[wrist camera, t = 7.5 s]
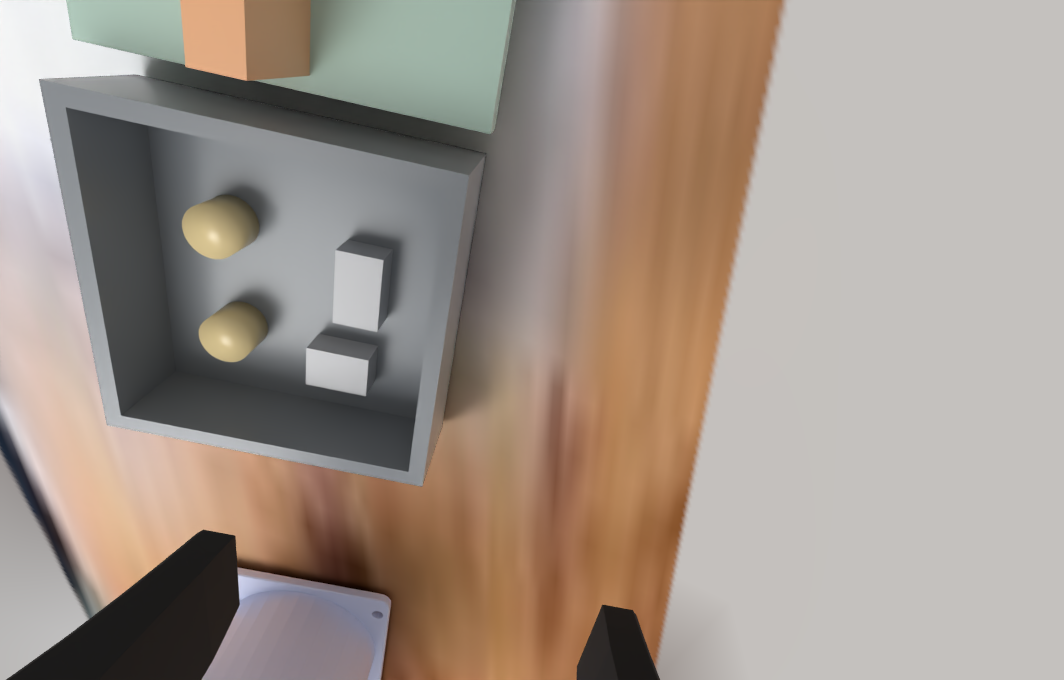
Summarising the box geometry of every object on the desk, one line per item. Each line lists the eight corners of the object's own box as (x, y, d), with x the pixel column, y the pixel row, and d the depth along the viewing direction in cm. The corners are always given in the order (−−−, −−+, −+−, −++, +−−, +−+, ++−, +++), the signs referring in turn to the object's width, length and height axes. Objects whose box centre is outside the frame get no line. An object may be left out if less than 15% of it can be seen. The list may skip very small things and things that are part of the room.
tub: (442, 426, 20) (422, 486, 18) (171, 372, 20) (106, 425, 17) (486, 153, 16) (469, 175, 13) (136, 74, 15) (38, 79, 12)
